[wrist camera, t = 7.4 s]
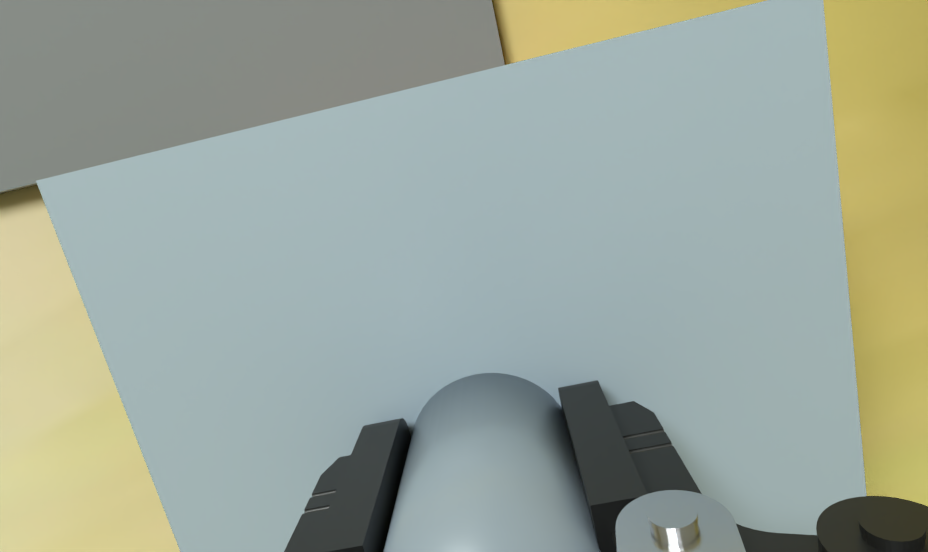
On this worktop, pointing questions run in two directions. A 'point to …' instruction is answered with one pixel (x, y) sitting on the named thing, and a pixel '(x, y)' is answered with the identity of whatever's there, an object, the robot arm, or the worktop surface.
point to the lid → (491, 289)
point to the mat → (208, 69)
